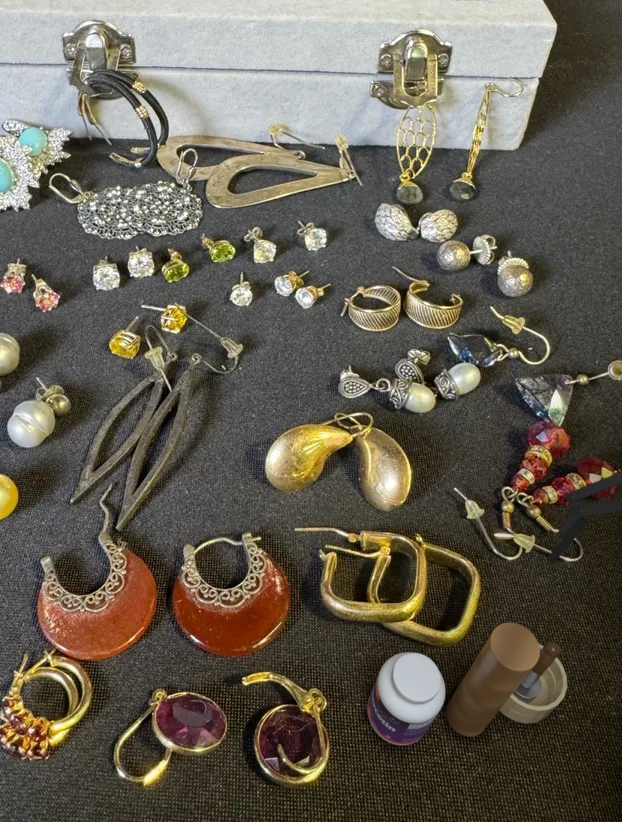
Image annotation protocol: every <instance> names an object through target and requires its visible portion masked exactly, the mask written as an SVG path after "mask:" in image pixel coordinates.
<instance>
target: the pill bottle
mask: <svg viewBox="0 0 622 822" xmlns="http://www.w3.org/2000/svg"><path fill="white" fill-rule="evenodd" d="M445 699H446V685H445V680H444V678H443V675H442V673H441V671H440V669H439V668H438V666H437V665H436V664H435V662H434V661H433V660H432V659H431V658H430V657H428V656H427V655H424V654H423V653H419V652H409V651H406V652H405V651H404V652H400V653H396V654H395V655H393V656H391V657H389V658H388V659H387V660H386V661H385V662H384V663H383V665H382V666H381V668H380V670H379V673H378V675H377V677H376V679H375V682H374V684H373V687H372V689H371V692H370V694H369V697H368V700H367V708H366V709H367V716H368V717H367V718H368V720H369V723H370V725H371V727H372V728H373V730H374V731H375V733H376V734H377V735H378V736H379V738H381V739H383V740H384V741H385V742H387V743H390V744H393V745H396V746H409V745H412V744H414V743H416V742H418V741H420V740H421V739H422V738H423V737H424V736H425V734H426V733H427V731H428V730H429V728H430V727H431V725H432V723H433V722H434V720H435V719H436V717H437V716H438V715H439V712H440V711H441V709H442V707H443V705H444V703H445Z"/></svg>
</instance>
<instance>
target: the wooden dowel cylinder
mask: <svg viewBox="0 0 622 822" xmlns="http://www.w3.org/2000/svg"><path fill="white" fill-rule="evenodd" d="M539 644H540V643H539V642H538V639H537V638H536V636H535V635H534V633H533V632H532V631H531V630H529V629H528V628H527V627H525V626H524V625H522V624H520V623H516V622H511V621H510V622H504V623H501V624H499V625H497V626H496V627H495V628H494V629H493V630H492V632H491V633H490V635H489V637H488V639H487V640H486V642H485V643H484V645H483V646H482V648H481V650H480V652H479V653H478V655H477V656H476V657H475V659H474V661H473V662H472V664H471V665H470V667H469V669H468V671H467V672H466V674H465V675H464V677H463V679H462V680H461V681H460V683H459V685H458V687H457V688H456V690H455V691H454V693H453V694H452V696H451V698H450V699H449V701H448V702H447V705H446V711H445V712H446V713H445V714H446V719H447V721H448V724H449V726H450V727H451V728H452V729H453V730H454V731H455V732H456V733H458V734H459V735H461V736H464V737H468V738H469V737H470V738H473V737H477V736H479V735H481V734H482V733H483V732H484V731H485V729H486V728H487V727H488V726H489V724H490V723H491V722H492V720H493V719H494V718H495V717H496V716H497V714H498V713H499V712H500V711H499V710H500V709H501V708H502V706H503V705H504V704H505V703H506V701H507V700H508V699H509V698H510V696H511V695H512V694H513V692H514V691H515V690H516V689H517V687H518V686H519V685H520V684H521V682H522V681H523V680H524V679H525V677H526V676H527V675H528V673H529V672H530V671H531V670H532V668H533V667H534V666H535V665H536V663H537V662H538V659H539V656H540V648H539Z"/></svg>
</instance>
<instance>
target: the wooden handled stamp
mask: <svg viewBox="0 0 622 822" xmlns="http://www.w3.org/2000/svg"><path fill="white" fill-rule="evenodd" d="M543 646H544V647H543V648H542V649H541V651H540V656H539V659H538V662H537V663H536V665H535V666H534V667H533V668H532V670H531V671H530V672H529V673H528V675H527V676H526V677H525V679H524V680H523V681H522V682H521V684H520V685H519V686H518V687H517V689H516V690H515V691H514V692H513V695H514V696H515V697H516V698H517V699H518V700H520V701H522V702H524V703H526V704H529V703H531V702H532V701H533V700H534V699H535V698H536V697H537V696H538V695H539V693H540V692H541V689H542V683H541V680H540V677H541V676H542V675H543V673H544V672H545V671H546V670H547V669H548V667H549V666H550V665H551V664H552V663H553V661H554V660H555V659H556V658H558V657H559V656H560V653H561V646H560V645H559V644H558V643H557V642H556V641H552V640H551V641H547V642H546V643H545V644H544V645H543Z"/></svg>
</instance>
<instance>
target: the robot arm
mask: <svg viewBox="0 0 622 822" xmlns="http://www.w3.org/2000/svg"><path fill="white" fill-rule="evenodd" d="M618 485H622V470H621V471H619V472H616V473H614V474H611V475H609V476H606V477H604V478H602V479H599V480H597V481H594V482H592V483H589V484H587V485H584V486H582V487H580V488H577V489H575V490H572V491H569V492H568V493H566V495H565V500H566V501H567V502H568V504H569V505H570V507H571V508H572V511H571V514H570V515H569V516H568V517H567V518H566V519H565V521H564V522H563V523H562V524H561V525H560V527H559V528H558V531H557V533H558V534H559V535H561V536H562V537H563V538H562V540H560V542H559V543H558V544H557V546H556V547H555V548H554V549H553V550H552V551H551V552H550V554H549V555H547V557H546V558H545V559H546V560H547V561H548V562H550V563H551V564H552V563H555V562H557V560H558V559H560V557H561V556H562V555H563V553H564V552H565V551H566V550H567V548H568V547H569V546H570V545H571V544H572V542H573V541H574V540H575V539H577V536H579V534H580V533H581V532H582V531H583V530H584V528H585V527H586V526H587V525H588V524H589V523H590V520H588V519H586V518H585V517H588V516H594V515H602V514H610V513H611V514H612V513H617V512H618V513H619V512H622V499H620V500H612V501H607V502H598V503H592V504H591V503H590V504H585V503H584V501H583V500H584V499H586V498H589V497H592V496H593V495H597V494H599V493H601V492H604V491H606V490H609V489H612V488H614V487H616V486H618Z"/></svg>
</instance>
